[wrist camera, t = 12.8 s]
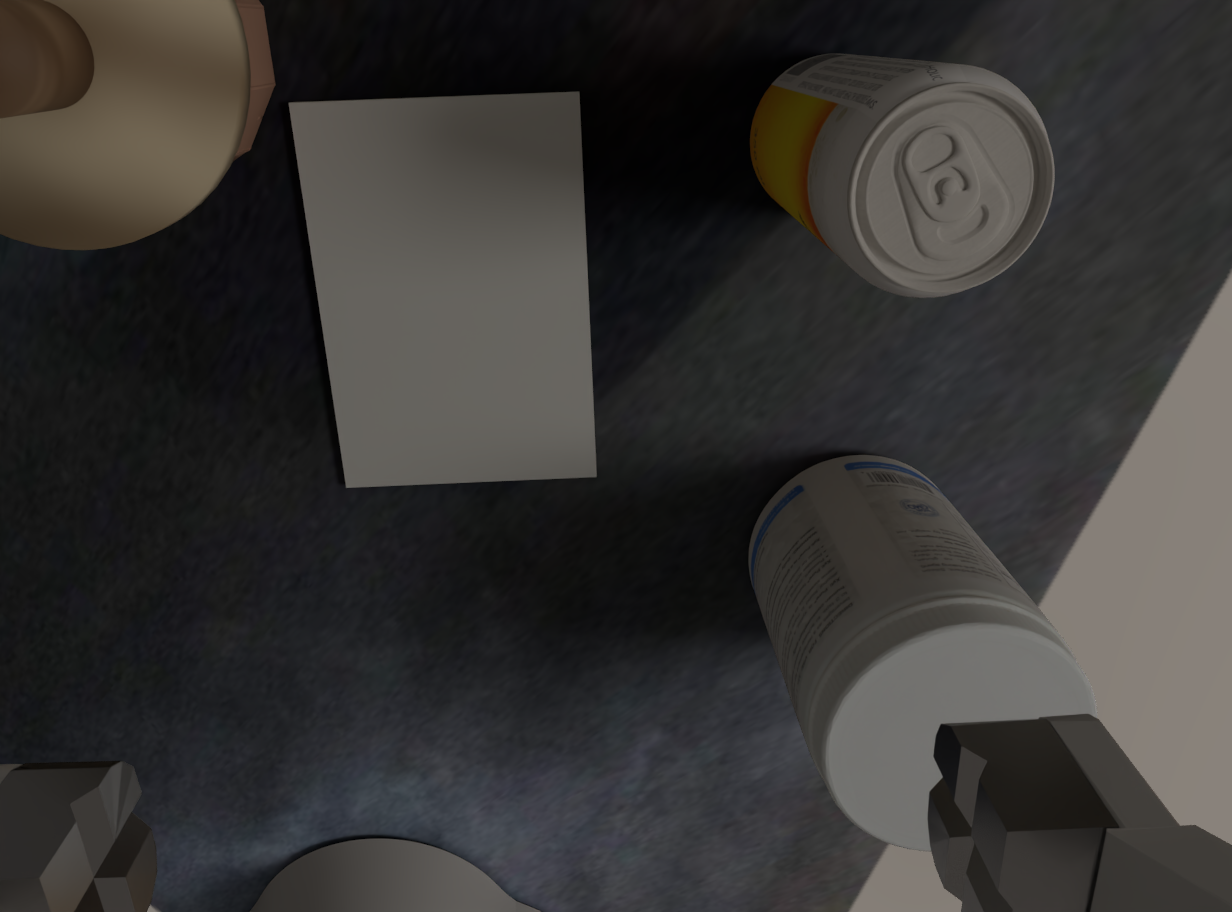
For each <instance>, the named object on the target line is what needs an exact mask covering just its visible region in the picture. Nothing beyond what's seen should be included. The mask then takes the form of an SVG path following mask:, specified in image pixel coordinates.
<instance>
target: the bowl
mask: <svg viewBox="0 0 1232 912" xmlns="http://www.w3.org/2000/svg"><path fill="white" fill-rule="evenodd" d="M235 1H236V4H237V7H238V10H239V13H240V16H241V19H242V22H243V26H244V31H245V35H246V40H247V44H248V50H249V60H250V70H251V87H250V104H249V110H248V116H247V123H246V126H245V130H244V133H243V136H242V140H241V143H240V146H239V148H238V151H237V153H236V155H235V157H234V159H233V161H234V160H236V159H237V158H239V157H240V156H241V155H243V154H244V153H246V152H247V151H250V149H251V146H252V144H253V141H254V138H255V136H256V133H257V131H258V128H259V125H260V123H261V120H262V118H263V115H264V112H265V110H266V107H267V104H268V102H269V99H270V97H271V94H272V91H273V89H274V86H276V85H275V84H276V83H275V79H274V72H273V66H272V59H271V53H270V46H269V40H268V33H267V27H266V20H265V14H264V7H263V5H262V4H261V3H260V2H259V0H235ZM233 161H232V162H233Z"/></svg>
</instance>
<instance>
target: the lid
mask: <svg viewBox="0 0 1232 912" xmlns="http://www.w3.org/2000/svg"><path fill="white" fill-rule="evenodd" d="M250 87H251V70H250V60H249V50H248V44H247V40H246V35H245V31H244V26H243V22H242V19H241V16H240V13H239V10H238V7H237V4H236V1H235V0H0V234H2V235H4V236H7V237H9V238H12V239H15V240H19V241H22V242H26V243H29V244H33V245H37V246H43V247H49V248H56V249H63V250H92V249H102V248H110V247H115V246H119V245H123V244H127V243H131V242H134V241H136V240H139V239H141V238H144V237H146V236H149V235H151V234H153V233H156V232H158V231H160V230H162V229H164V228H166V227H168V226H170V225H171V224H173V223H175V222H176V221H178V220H180V219H182V218H183V217H185V216H186V215H188V214H189V213H190V212H191V211H192V210H194V209H195V208H196V207H197V206H199V205H200V204H201V203H202V202H203V201H204V200H205V199H206V198H207V197H208V196H209V195H210V193H211V192H212V191H213V190H214V189H215V188H216V187H217V186H218V184H219V183H220V181H221V180H222V178H223V177H224V175H225V174H226V172H227V171H228V169H229V168H230V166H231V163H232V161H233V159H234V157H235V155H236V153H237V151H238V148H239V146H240V143H241V140H242V136H243V133H244V130H245V126H246V123H247V116H248V110H249V104H250Z"/></svg>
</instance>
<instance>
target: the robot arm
mask: <svg viewBox="0 0 1232 912" xmlns="http://www.w3.org/2000/svg"><path fill="white" fill-rule="evenodd" d="M933 757H934V759H935V761H936V763H937V766H938V768H939V770H940V772H941V774H942V776H943V777H942V779H941V780H940V781H939V782H938V783H937V784H936V785H935V786H934V787H933V788H932V789H931V790H930V792H929V803H928V816H927V820H928V830H929V840H930V848H931V851H932V855H933V859H934V863H935V866H936V869H937V872H938V874H939V877H940V879H941V882H942V884H943V886H944V888H945V889H946V890H947V891H949V892H950V893H952V894H953V895H954V896H956V897H957V898H958V899H960V900H961V901H962V909H961V912H1232V845H1230V844H1229V843H1226V842H1225V841H1223V840H1221V839H1220V838H1218V837H1216V836H1214V835H1212V834H1210V833H1209V832H1207V831H1205V830H1203V829H1201V828H1199V827H1198V826H1196V825H1187V826H1180V825H1179V824H1178V823H1177V821H1176V820H1175V819H1174V817H1173V816H1172V815H1171V813H1170V812H1169V811H1168V810H1167V808H1166V807H1165V806H1164V804H1163V803H1162V802H1161V801H1160V799H1159V798H1158V796H1157V795H1156V794H1155V793H1154V791H1153V790H1152V789H1151V787H1150V786H1149V785H1148V783H1147V782H1146V781H1145V779H1144V778H1143V777H1142V775H1141V774H1140V773H1139V771H1138V770H1137V769H1136V768H1135V766H1134V765H1133V764H1132V762H1131V761H1130V760H1129V758H1128V757H1127V756H1126V754H1125V753H1124V752H1123V750H1122V749H1121V748H1120V747H1119V745H1118V744H1117V743H1116V741H1115V740H1114V739H1113V737H1112V736H1111V735H1110V734H1109V732H1108V731H1107V730H1106V728H1105V727H1104V726H1103V724H1102V723H1101V722H1100V721H1099V719H1097V718H1095V717H1094V716H1092V715H1090V714H1076V715H1062V716H1048V717H1039V718H1038V719H1023V720H1004V721H984V722H965V723H945V724H941V725H940V727H939V729H938V732H937V734H936V738H935V746H934V754H933ZM141 794H142V792H141V789H140V786H139V783H138V780H137V776H136V773H135V770H134V767H133V766H131V765H129V764H127V763H125V762H123V761H97V762H54V763H25V764H23V765H21V764H0V912H147V910H148V908H149V906H150V903H151V900H152V895H153V890H154V885H155V880H156V875H157V853H156V845H155V841H154V837H153V833H152V829H151V828H150V827H149V826H148V825H147V824H145V823H144V822H143V821H142V820H141V819H140V818H138V817H137V816H136V815H135V814H134V813H132V810H133V808H134V806H135V805H136V803H137V801H138V799H139V798H140V796H141ZM249 912H541V911H539V910H537V909H534V908H532V907H530V906H527V905H525V904H522V903H520V902H517V901H515V900H514V899H513V898H511V897H510V896H509V895H507V894H506V893H505V892H504V891H503V890H502V889H501V888H500V887H499V886H498V885H497V884H496V883H495V882H494V881H493V880H492V879H491V878H489V877H488V876H487V875H486V874H485V873H484V872H482V871H481V870H479V869H478V868H477V867H475V866H474V865H472V864H471V863H469V862H467V861H465V860H464V859H462V858H460V857H458V856H456V855H454V854H451V853H449V852H447V851H444V850H442V849H439V848H436V847H433V846H429V845H425V844H422V843H417V842H412V841H405V840H397V839H360V840H352V841H346V842H341V843H337V844H333V845H329V846H326V847H323V848H320V849H318V850H315V851H313V852H311V853H309V854H306V855H304V856H302V857H301V858H299V859H297V860H295V861H294V862H292V863H291V864H289V865H288V866H287V867H285V868H284V869H283V870H282V871H281V872H279V873H278V874H277V875H276V876H275V877H274V878H273V879H272V881H271V882H270V883H269V884H268V885H267V887H266V888H265V890H264V891H263V893H262V894H261V896H260V898H259V899H258V901H257V902H256V904H255V905H254V907H253V908H252V909H251V910H250V911H249Z"/></svg>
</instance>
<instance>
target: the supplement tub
mask: <svg viewBox="0 0 1232 912" xmlns="http://www.w3.org/2000/svg"><path fill="white" fill-rule="evenodd" d="M748 562H749V573H750V579H751V583H752V586H753V589H754V592H755V595H756V598H757V601H758V604H759V607H760V610H761V613H762V616H763V619H764V622H765V625H766V628H767V631H768V634H769V637H770V640H771V643H772V645H773V648H774V651H775V654H776V657H777V660H778V663H779V666H780V669H781V672H782V674H783V677H784V680H785V683H786V686H787V689H788V692H789V695H790V698H791V701H792V704H793V707H794V710H795V713H796V716H797V719H798V722H799V724H800V727H801V730H802V733H803V736H804V738H805V741H806V744H807V747H808V749H809V752H810V755H811V757H812V759H813V761H814V763H815V766H816V768H817V770H818V772H819V774H820V776H821V777H822V779H823V780H824V782H825V784H826V786H827V788H828V790H829V792H830V795H831V797H832V798H833V800H834V802H835V803H836V805H837V806H838V807H839V809H840V810H841V811H842V812H843V814H844V815H845V816H846V817H847V818H848V819H849V820H850V821H851V822H852V823H854V824H855V825H856V826H858V827H859V828H860V829H862V830H863V831H865V832H866V833H868V834H869V835H871V836H873V837H875V838H877V839H879V840H882V841H884V842H886V843H889V844H892V845H896V846H899V847H903V848H907V849H912V850H919V851H930V852H932V851H931V848H930V840H929V830H928V820H927V816H928V803H929V792H930V790H931V789H932V788H933V787H934V786H935V785H936V784H937V783H938V782H939V781H940V780H941V779H942V777H943V776H942V774H941V772H940V770H939V768H938V766H937V763H936V761H935V759H934V757H933V754H934V746H935V738H936V734H937V732H938V729H939V727H940V725H941V724H945V723H965V722H984V721H1004V720H1023V719H1038V718H1039V717H1048V716H1062V715H1076V714H1090V715H1092V716H1094V717H1095V718H1097V706H1096V701H1095V696H1094V693H1093V690H1092V687H1091V684H1090V682H1089V680H1088V678H1087V676H1086V674H1085V673H1084V671H1083V670H1082V668H1081V667H1080V665H1079V664H1078V663H1077V661H1076V658H1075V656H1074V654H1073V652H1072V650H1071V649H1070V647H1069V646H1068V644H1067V643H1066V641H1065V640H1064V638H1063V637H1062V636H1061V635H1060V634H1059V633H1058V631H1057V630H1056V629H1055V628H1054V626H1053V625H1052V624H1051V623H1050V621H1048V619H1047V618H1046V617H1045V615H1044V614H1043V613H1042V612H1041V610H1040V609H1039V608H1038V607H1037V606H1036V604H1035V603H1034V602H1033V601H1032V600H1031V598H1030V597H1029V596H1028V595H1027V594H1026V592H1025V591H1024V590H1023V589H1022V588H1021V587H1020V585H1019V584H1018V583H1017V582H1016V581H1015V579H1014V578H1013V577H1012V576H1011V575H1010V573H1009V572H1008V571H1007V570H1006V569H1005V567H1004V566H1003V565H1002V564H1001V563H1000V561H999V560H998V559H997V558H996V557H995V555H994V554H993V553H992V552H991V550H990V549H989V548H988V547H987V546H986V545H985V544H984V542H983V541H982V540H981V539H980V538H979V536H978V535H977V534H976V533H975V532H974V530H973V529H972V528H971V527H970V525H969V524H968V523H967V522H966V521H965V519H964V518H963V517H962V516H961V515H960V514H959V512H958V511H957V510H956V509H955V508H954V506H953V505H952V504H951V503H950V502H949V500H948V499H947V498H946V497H945V496H944V495H943V494H942V492H941V491H940V490H939V489H938V488H937V486H936V485H935V484H934V483H933V482H931V481H930V480H929V479H928V478H927V477H926V476H925V475H923V474H922V473H920V472H919V471H918V470H916V469H914V468H913V467H911V466H909V465H907V464H905V463H902V462H900V461H897V460H894V459H890V458H886V457H881V456H873V455H851V456H843V457H838V458H834V459H830V460H827V461H824V462H821V463H818V464H816V465H814V466H812V467H810V468H808V469H806V470H804V471H802V472H801V473H799V474H798V475H796V476H795V477H794V478H792V479H791V480H790V481H788V482H787V483H786V484H785V485H784V486H783V487H782V488H781V489H780V490H779V491H778V492H777V493H776V494H775V495H774V496H773V497H772V498H771V499H770V501H769V502H768V503H767V505H766V506H765V508H764V509H763V511H762V512H761V514H760V516H759V518H758V520H757V522H756V524H755V527H754V530H753V533H752V536H751V540H750V545H749V558H748Z"/></svg>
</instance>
